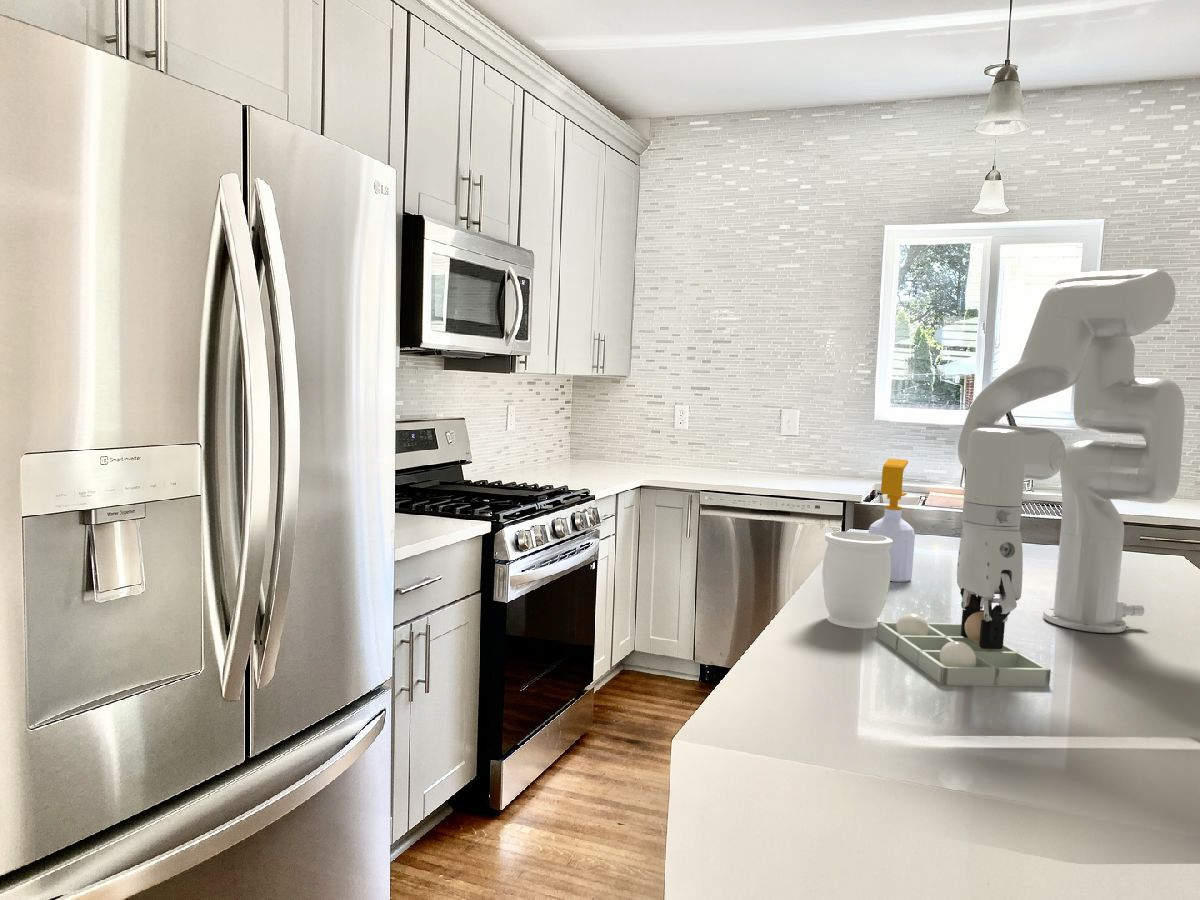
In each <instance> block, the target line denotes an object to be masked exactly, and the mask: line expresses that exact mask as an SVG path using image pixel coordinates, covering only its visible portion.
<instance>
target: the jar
mask: <svg viewBox="0 0 1200 900" xmlns="http://www.w3.org/2000/svg"><path fill="white" fill-rule="evenodd" d="M824 540H825V541H826V543H827V545H826V546H827V547H826V549H825V552H824V556H823V561H822V569H821V570H822V571H821V572H822V575H821V576H822V578H821V579H822V587H823V599H824V604H825V608H826V610H827V613H828V614H829V615H828V616H827V618H826V619H827V621H828V622H830V623H831V624H834V625H837V626H842V627H846V628H850V629H851V628H852V629H873V628H877V626H878V622H879V621H878V619H879V618H880V617H881V615H882V612H883V611H884V608H885V606H886V601H887V597H888V596H887V595H888V594H889V593H888V592H889V589H890V584H891V582H890V577H891V563H890V555H889V551H888V550H889V548H890V547H891V546H892V545H893V540H892V539H891V538H888V537H884V536H880V535H875V534H869V532H859V531H831V532H826V533H825V535H824Z"/></svg>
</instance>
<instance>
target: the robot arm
mask: <svg viewBox="0 0 1200 900" xmlns="http://www.w3.org/2000/svg"><path fill="white" fill-rule="evenodd" d="M1175 286H1176V285H1175V282H1174V280H1173V278H1172V277H1171V275H1170V274H1169V273H1168V272H1166V271H1165V270H1162V269H1158V268H1157V269H1155V268H1153V269H1152V268H1151V269H1147V268H1146V269H1130V270H1128V269H1127V270H1107V271H1105V270H1103V271H1089V272H1088V271H1087V272H1079V273H1074V274H1070V275H1067V276H1063V277H1062V278H1061V277H1060V279H1059V280H1058V281H1056V283H1055V285H1054V286H1052V287H1051V288H1050V289H1049V290H1047V291H1046V293H1045V294H1044V295H1043V296H1042V300H1041V302H1040V304H1039V307H1038V310H1037V313H1036V316H1035V318H1034V321H1033V324H1032V325H1031V329H1030V332H1029V334H1028V337H1027V340H1026V343H1025V345H1024V349H1023V351H1022V354H1021V357H1020V359H1019V361H1018V362H1017V364H1015V365H1013V366H1012V367H1010V368H1009V369H1007V370H1006V371H1005V372H1003V373H1001V374H1000V375H999V376H998V377H996V378H995V379H993V381H991V382H990V383H989V384H988V385H987V386H986V387H985V388H984V389H982V391H980V392H979V394H978V395H977V396H976V397H975V399H974V400H973V402H972V404H971V405H970V408H969V410H968V413H967V416H966V417H965V418H966V419H965V421H964V424H963V426H962V429H961V432H960V435H959V441H958V444H957V445H958V446H957V455H958V460H959V463H960V464H961V466H962V467H963V468H964V469H965V481H964V493H963V504H962V506H963V507H962V517H961V521H962V522H961V524H962V525H963V526H962V531H961V535H960V540H959V541H960V542H959V548H958V554H957V555H958V556H957V566H956V583H957V587H958V588H959V590H960V592H959V593H960V595H961V602H960V603H961V605H960V606H961V609H962V613H961V623H960V624H961V636H962V637H964V638H968V636H967V635H966V632H965V622H966V620H967V618H968V617H969V616H970V615H971V614H973V613H976V612H984V618H985V620H981V628H980V641H979V646H980V647H981V648H982V649H1002V648H1003V643H1004V640H1005V639H1004V638H1005V627H1006V625H1005V624H1006V622H1007V621H1008V619H1009V618H1008V616H1009V615H1010V614H1011V612H1012V611H1014V610H1015V609H1016V608H1017V605H1018V604H1017V603H1018V602H1017V601H1019V600H1020V599H1021V597H1022V592H1023V591H1022V590H1023V565H1024V564H1023V563H1024V561H1023V560H1024V558H1023V556H1024V555H1023V552H1024V551H1023V539H1022V532H1021V530H1020V529H1021V521H1022V519H1021V518H1022V510H1023V509H1022V505H1023V496H1024V494H1023V493H1024V485H1025V484H1024V481H1025V480H1030V481H1032V480H1033V481H1044V480H1048V479H1050V478H1053V477H1054V476H1055V475H1057V474H1058V473H1059V475H1060V485H1061V500H1062V501H1061V502H1062V503H1061V521H1060V532H1059V533H1060V534H1059V546H1058V556H1057V569H1056V579H1055V591H1054V604H1053V607H1050V608H1047V609H1044V610H1043V615H1042V617H1043V619H1044V620H1046V621H1047V622H1048V623H1051V624H1054V625H1056V626H1060V627H1063V628H1067V629H1071V630H1077V631H1082V632H1089V633H1101V634H1117V633H1122V632H1124V631H1126V629H1127V623H1126V621H1125V620H1124V619H1123V618H1125V617H1127V616H1133V617H1135V616H1137V617H1142V616H1143V615H1144V614H1145V608H1144V605H1142V604H1127V603H1125V602H1124V601H1122V600H1119V591H1120V583H1121V582H1120V581H1121V580H1120V579H1121V571H1122V570H1121V569H1122V559H1123V558H1122V557H1123V547H1124V539H1125V524H1124V520H1123V518H1122V515H1121V514H1120V512H1119V510H1118V509H1117V508H1116V505H1114V503H1113V502H1112V500H1116V501H1117V500H1118V501H1119V500H1120V501H1128V502H1136V503H1147V504H1163V503H1164V504H1165V503H1167V502H1169V501H1171V500H1172V499H1173V498H1174V497H1175V495H1176V494H1177V491H1178V488H1179V484H1180V480H1181V479H1180V477H1181V469H1182V468H1181V466H1182V455H1183V454H1182V453H1183V452H1182V451H1183V440H1184V427H1185V409H1186V408H1185V399H1184V395H1183V391H1182V389H1181V388H1180V386H1179V385H1178V384H1177V383H1176V382H1174V381H1172V380H1169V379H1165V378H1156V377H1136V376H1135V371H1134V369H1135V354H1136V349H1135V344H1134V342H1133V340H1132V338H1131V337H1135V336H1138V335H1141V334H1143V333H1145V332H1147V331H1149V330H1151V329H1152V328H1154V327H1156V326H1158V325H1160V324H1161V323H1163V322H1164V321H1165V320H1166V319H1167V317H1168V316H1169V315H1170V313H1171V312H1172V310H1173V307H1174V306H1175V300H1176V287H1175ZM1073 385H1074V393H1073V417H1074V420H1075V421H1074V422H1075V424H1076V426H1078V428H1080V429H1082V430H1083V431H1087V432H1092V433H1099V434H1111V435H1122V436H1123V435H1125V436H1136V437H1142V438H1143V439H1144V441H1145V444H1142V443H1130V442H1128V443H1127V442H1121V441H1120V442H1119V441H1118V442H1117V441H1108V440H1081V441H1075V442H1073V443H1071V444H1070V445H1068V446H1067V447H1065V443H1064V442H1063V439H1062V438H1061V436H1059V435H1058V434H1057V433H1056V432H1053V431H1052V430H1051V429H1050V430H1049V429H1046V428H1041V427H1028V426H1018V425H1006V424H1005V425H1004V424H998V423H999V422H1000V420H1002V419H1003V417H1005V416H1006V414H1008V413H1009V412H1010V411H1012V410H1014V409H1015V408H1018V407H1020V406H1022V405H1024V404H1026V403H1030V402H1032V401H1033V402H1034V401H1036V400H1038V399H1039V400H1040V399H1042V398H1045V397H1048V396H1050V395H1054V394H1057V393H1059V392H1061V391H1064V390H1067V389H1069V388H1071V387H1072V386H1073ZM996 595H999V598H997V597H996V598H995V596H996ZM996 603H997V604H996ZM993 604H996V605H995V606H994V607H992V605H993Z"/></svg>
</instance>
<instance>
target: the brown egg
mask: <svg viewBox="0 0 1200 900" xmlns="http://www.w3.org/2000/svg"><path fill="white" fill-rule="evenodd" d="M981 620H985V618H984V612H976V613H973V614H971V615H970V616H969V617H968V618H967V620H966V622H965V632H966V635H967V636H968V638H969V639H970V640H971V641H973V642H975V643H977V644H979V641H980V628H981Z"/></svg>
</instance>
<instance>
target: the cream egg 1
mask: <svg viewBox="0 0 1200 900" xmlns="http://www.w3.org/2000/svg"><path fill="white" fill-rule="evenodd" d="M927 623H928V622H927V620H926V619H925V618H924V616H922V615H920V614H917V613H915V612H914V613H913V612H911V613H910V612H908V613H905V614H903V615H901V616H900V618H899V619H898V620H897V625H896V631H897V633H898V634H900V635H911V636H928V632H929V627H928V624H927Z"/></svg>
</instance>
